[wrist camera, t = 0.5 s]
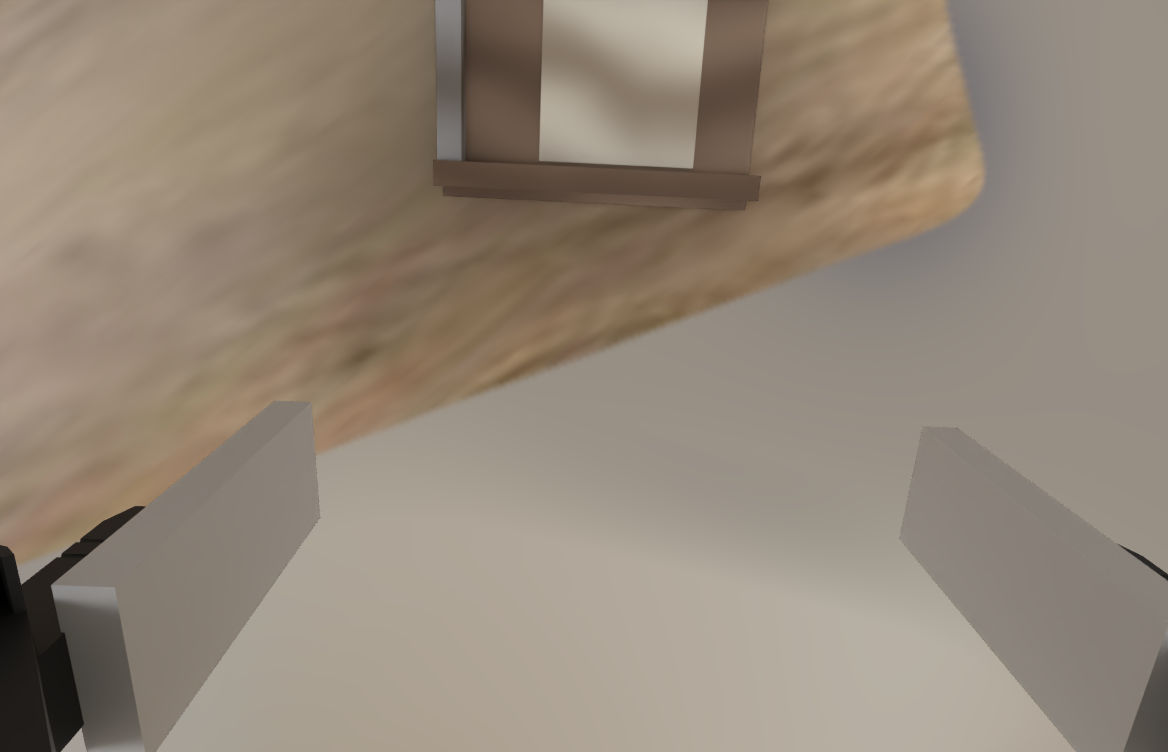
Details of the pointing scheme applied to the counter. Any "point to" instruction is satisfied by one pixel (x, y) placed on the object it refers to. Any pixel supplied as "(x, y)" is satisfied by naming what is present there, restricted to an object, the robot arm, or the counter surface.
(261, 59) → the counter surface
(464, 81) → the brown wooden tray
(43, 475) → the counter surface
